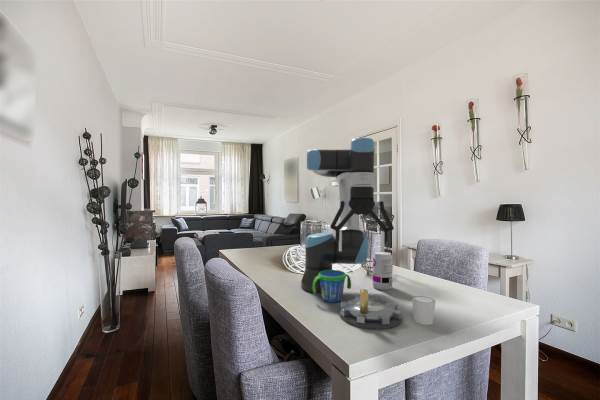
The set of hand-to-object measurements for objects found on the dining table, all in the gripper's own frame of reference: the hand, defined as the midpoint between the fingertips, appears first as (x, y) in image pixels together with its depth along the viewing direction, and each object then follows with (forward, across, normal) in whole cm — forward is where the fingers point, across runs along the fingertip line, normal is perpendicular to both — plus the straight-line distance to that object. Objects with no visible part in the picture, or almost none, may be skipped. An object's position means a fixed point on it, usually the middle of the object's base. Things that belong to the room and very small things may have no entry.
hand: (361, 251), depth 98 cm
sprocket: (+20, +3, +1) cm, 21 cm away
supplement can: (+22, +13, +33) cm, 42 cm away
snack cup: (+22, -9, +16) cm, 28 cm away
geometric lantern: (+22, +14, +54) cm, 60 cm away
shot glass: (+22, +20, -1) cm, 30 cm away
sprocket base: (+22, +3, +1) cm, 22 cm away
